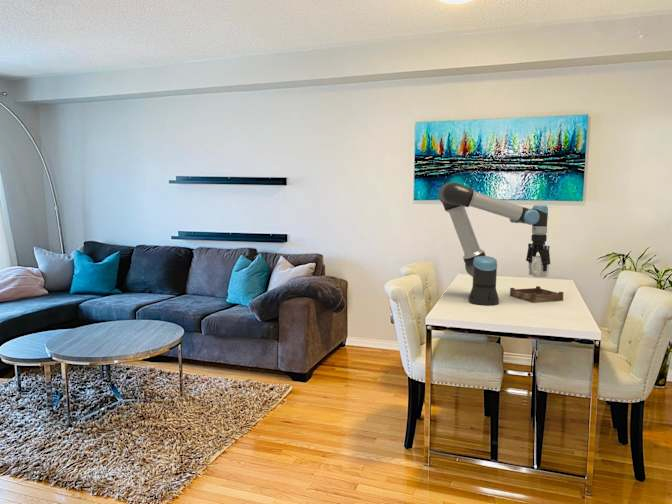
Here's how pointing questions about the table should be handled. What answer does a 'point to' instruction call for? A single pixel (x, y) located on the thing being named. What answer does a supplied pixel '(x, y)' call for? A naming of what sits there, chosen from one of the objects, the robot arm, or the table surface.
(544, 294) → the wooden tray
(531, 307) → the table surface
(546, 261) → the robot arm
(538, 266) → the mug
